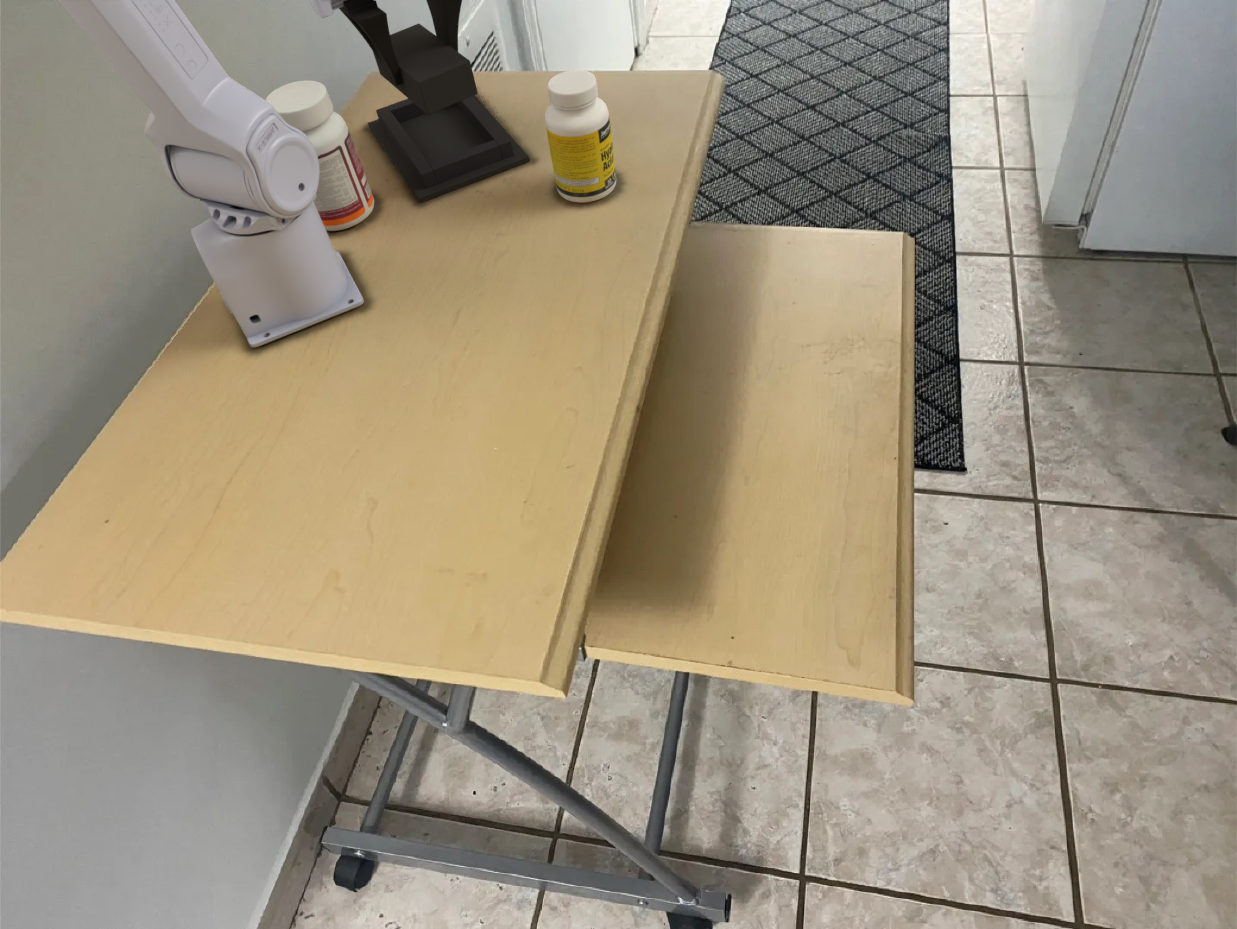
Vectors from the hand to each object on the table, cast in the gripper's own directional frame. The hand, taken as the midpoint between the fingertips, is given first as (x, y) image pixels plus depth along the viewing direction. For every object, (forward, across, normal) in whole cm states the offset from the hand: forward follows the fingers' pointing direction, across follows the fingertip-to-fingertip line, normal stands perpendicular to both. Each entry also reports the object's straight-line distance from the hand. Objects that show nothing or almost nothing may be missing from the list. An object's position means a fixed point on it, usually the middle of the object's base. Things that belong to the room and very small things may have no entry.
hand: (422, 68), depth 80 cm
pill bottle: (+9, -12, -2) cm, 15 cm away
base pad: (+8, +1, +2) cm, 9 cm away
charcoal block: (+1, 0, 0) cm, 1 cm away
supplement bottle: (+9, +7, -14) cm, 18 cm away
